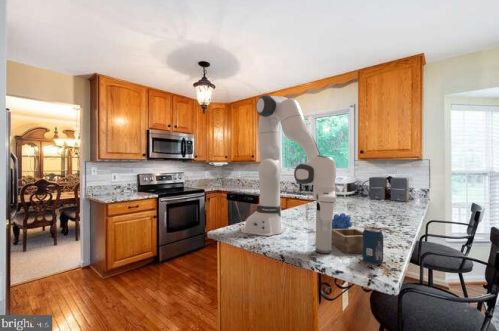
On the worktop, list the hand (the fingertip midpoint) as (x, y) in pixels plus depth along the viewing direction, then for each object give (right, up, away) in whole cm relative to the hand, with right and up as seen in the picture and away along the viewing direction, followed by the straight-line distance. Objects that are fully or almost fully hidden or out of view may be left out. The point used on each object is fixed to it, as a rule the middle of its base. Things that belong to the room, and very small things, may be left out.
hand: (323, 228), depth 96 cm
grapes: (+16, -10, +23) cm, 30 cm away
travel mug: (0, -9, 0) cm, 9 cm away
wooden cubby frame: (+13, -10, +5) cm, 18 cm away
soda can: (+16, -10, -9) cm, 21 cm away
